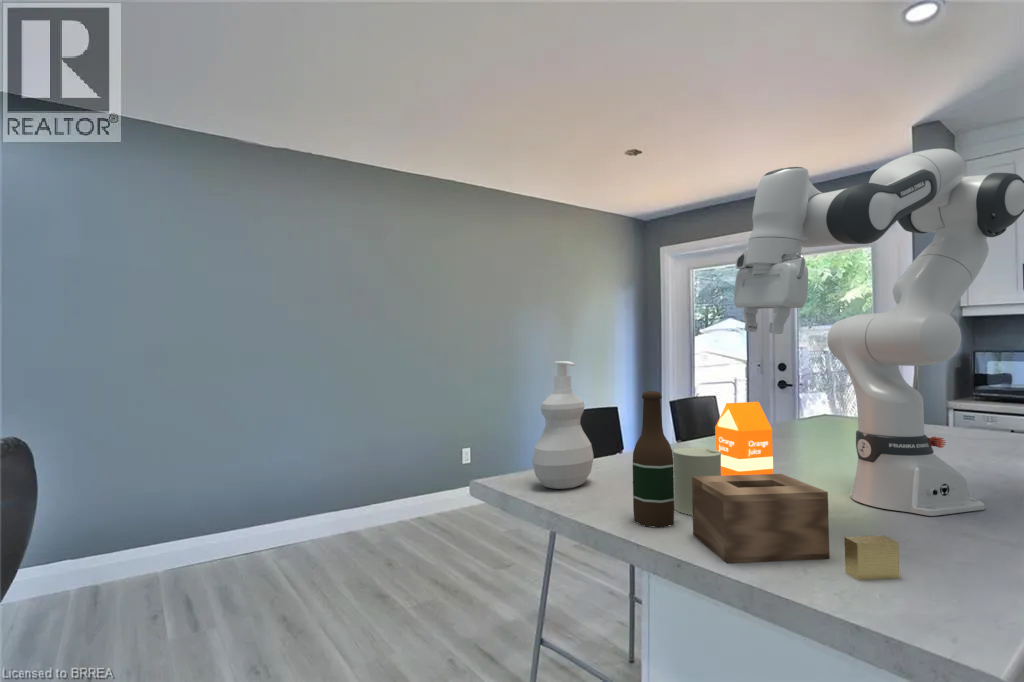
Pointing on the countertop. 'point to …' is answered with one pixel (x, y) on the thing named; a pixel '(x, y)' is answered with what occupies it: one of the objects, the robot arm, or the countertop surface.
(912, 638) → the countertop surface
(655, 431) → the beer bottle
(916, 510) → the robot arm
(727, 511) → the coin box
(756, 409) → the orange juice
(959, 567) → the countertop surface
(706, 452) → the can
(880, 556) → the wooden block
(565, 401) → the soap bottle
